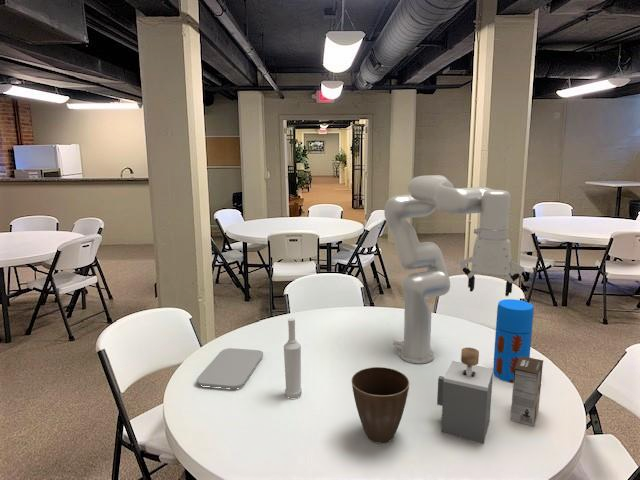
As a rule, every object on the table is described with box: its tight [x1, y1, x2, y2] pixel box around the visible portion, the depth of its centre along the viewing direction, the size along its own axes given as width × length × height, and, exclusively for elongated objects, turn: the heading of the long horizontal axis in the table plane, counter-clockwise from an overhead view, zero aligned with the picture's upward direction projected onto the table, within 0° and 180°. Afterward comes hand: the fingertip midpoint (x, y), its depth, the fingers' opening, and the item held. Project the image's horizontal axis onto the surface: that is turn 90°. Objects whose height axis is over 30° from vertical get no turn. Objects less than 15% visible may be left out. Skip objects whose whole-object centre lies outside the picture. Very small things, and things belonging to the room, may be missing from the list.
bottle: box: [283, 318, 303, 399], centre depth 140 cm, size 5×5×25 cm
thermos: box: [493, 298, 535, 384], centre depth 150 cm, size 11×11×25 cm
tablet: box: [196, 347, 264, 389], centre depth 158 cm, size 16×26×2 cm, turn 170°
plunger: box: [460, 347, 480, 377], centre depth 123 cm, size 8×8×19 cm
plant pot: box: [351, 366, 410, 444], centre depth 121 cm, size 15×15×16 cm
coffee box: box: [510, 356, 544, 427], centre depth 128 cm, size 9×6×16 cm
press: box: [436, 360, 494, 445], centre depth 124 cm, size 13×11×16 cm
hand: (489, 292), depth 131 cm, fingers open, 9 cm apart
